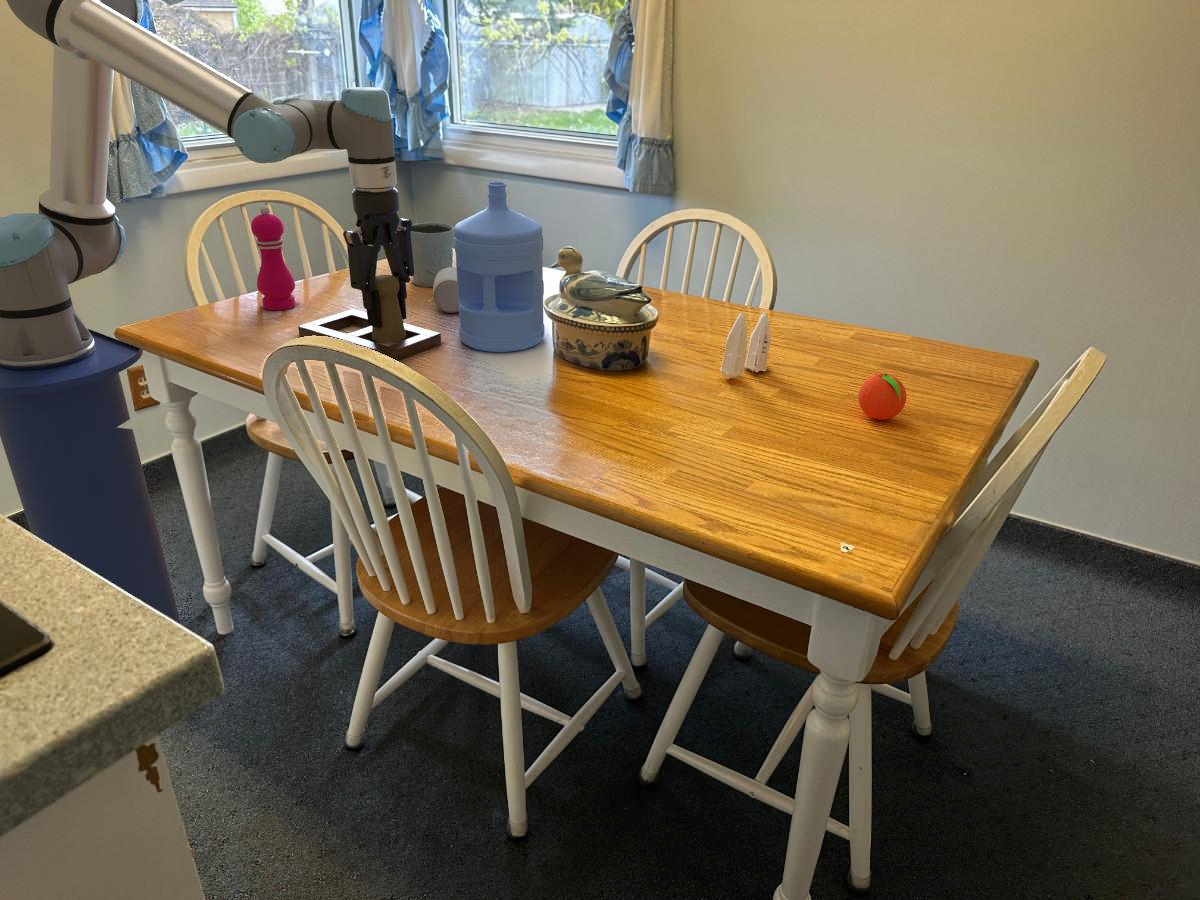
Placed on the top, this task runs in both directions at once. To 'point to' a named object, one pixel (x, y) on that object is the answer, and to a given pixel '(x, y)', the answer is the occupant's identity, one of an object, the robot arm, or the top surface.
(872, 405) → the clementine
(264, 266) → the pepper mill
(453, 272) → the ceramic mug
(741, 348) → the shaker set
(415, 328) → the holder
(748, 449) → the top surface
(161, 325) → the top surface
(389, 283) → the olive peg shaker
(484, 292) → the water jug
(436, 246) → the grey tapered cup
